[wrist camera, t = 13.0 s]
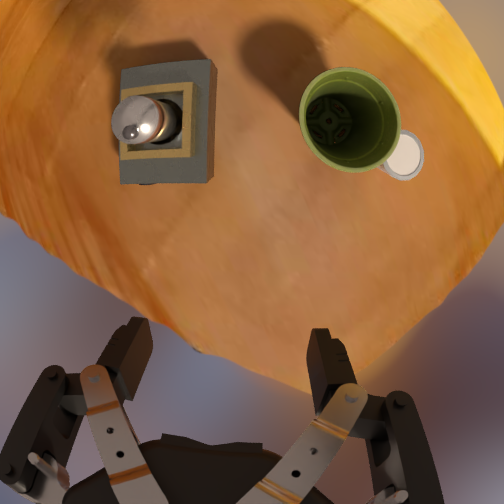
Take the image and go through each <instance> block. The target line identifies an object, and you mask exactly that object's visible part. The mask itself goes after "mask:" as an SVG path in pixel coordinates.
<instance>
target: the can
mask: <svg viewBox="0 0 504 504" xmlns="http://www.w3.org/2000/svg"><path fill="white" fill-rule="evenodd" d="M178 121H179V120H178V114H177V112H176V110H175V109H174V108H173V107H172V106H171V105H169V104H167V103H164V102H161V101H157V100H154V99H152V98H149V97H145V96H138V95H135V96H130V97H127V98H125V99H124V100H122V101H121V102H120V103H119V104H118V105H117V107H116V108H115V110H114V112H113V115H112V121H111V124H112V130H113V133H114V135H115V136H116V137H117V139H119V140H120V141H121V142H123V143H126V144H141V143H146V142H155V141H163V140H166V139H168V138H169V137H171V136H172V135H173V134H174V132H175V131H176V129H177V126H178Z"/></svg>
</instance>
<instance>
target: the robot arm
mask: <svg viewBox="0 0 504 504" xmlns="http://www.w3.org/2000/svg"><path fill="white" fill-rule="evenodd" d="M152 349H153V340H152V336H151V332H150V327H149V322H148V319H147V318H142V317H132V318H131V319H130V321H129V323H128V324H127V326H126V325H122V326H121V327H120V328H119V329H117V330H116V331H115V332H114V334H113V335H112V337H111V339H110V340H109V342H108V345H106V347H105V349H104V351H103V352H102V354H101V356H100V357H99V359H98V361H97V363H96V364H95V365H90V366H88V367H86V368H85V369H84V370H83V371H82V372H81V373H73V374H66V373H65V371H64V369H63V368H62V367H61V366H58V365H52V366H49V367H47V368H45V369H44V370H43V372H42V373H41V375H40V376H39V378H38V380H37V382H36V383H35V385H34V387H33V389H32V390H31V392H30V394H29V396H28V398H27V400H26V402H25V403H24V405H23V407H22V409H21V411H20V413H19V415H18V417H17V419H16V421H15V423H14V425H13V427H12V429H11V431H10V433H9V435H8V437H7V440H6V442H5V444H4V446H3V449H2V451H1V454H0V480H1V481H2V482H3V483H5V484H6V485H8V486H9V487H10V488H12V489H13V490H14V491H15V492H17V493H18V494H20V495H22V496H23V497H25V498H26V499H28V500H30V501H31V502H34V503H36V504H334V503H333V502H332V501H331V500H329V499H328V498H327V497H326V496H325V495H324V494H322V493H321V492H320V491H319V490H318V489H317V488H316V487H314V485H315V483H316V482H317V481H318V479H319V478H320V476H321V475H322V474H323V472H324V471H325V469H326V468H327V467H328V465H329V464H330V462H331V461H332V459H333V458H334V456H335V455H336V453H337V452H338V450H339V449H340V447H341V445H342V444H343V442H344V441H345V439H346V437H347V436H351V437H357V438H364V439H365V441H366V446H367V452H368V458H369V464H370V469H371V476H372V482H373V489H374V497H372V498H371V499H370V500H368V502H367V503H366V504H444V499H443V495H442V491H441V487H440V483H439V479H438V475H437V471H436V468H435V464H434V461H433V457H432V454H431V451H430V447H429V444H428V441H427V438H426V435H425V432H424V429H423V426H422V423H421V420H420V417H419V414H418V412H417V409H416V406H415V404H414V401H413V399H412V397H411V396H410V395H409V394H407V393H406V392H403V391H393V392H391V393H389V394H388V395H387V397H379V396H373V395H369V394H367V392H366V391H365V389H364V388H362V387H361V386H360V385H358V384H357V381H356V378H355V375H354V372H353V369H352V366H351V363H350V361H349V357H348V355H347V351H346V349H345V346H344V344H343V343H342V342H341V341H340V340H339V339H338V338H337V339H331V335H330V332H329V329H328V328H313V329H312V331H311V336H310V340H309V345H308V349H307V357H306V360H307V367H308V373H309V379H310V384H311V390H312V396H313V402H314V407H315V414H316V416H317V415H319V417H318V418H317V419H314V420H313V421H312V422H311V424H310V425H309V426H308V427H307V429H306V430H305V431H304V432H303V434H302V435H301V436H300V437H299V439H298V440H297V441H296V442H295V444H294V445H293V446H292V447H291V448H290V450H289V451H288V452H287V453H286V454H285V455H284V457H282V456H280V455H278V454H276V453H274V452H271V451H268V450H264V449H262V443H244V442H235V443H229V444H221V445H213V446H212V445H207V444H204V443H201V442H198V441H195V440H192V439H190V438H187V437H181V436H175V435H169V434H163V433H162V437H161V439H160V440H152V441H148V442H145V443H142V444H141V443H140V441H139V439H138V437H137V435H136V433H135V431H134V429H133V427H132V425H131V423H130V420H129V418H128V416H127V414H126V411H125V409H124V407H123V403H124V400H125V399H126V400H130V401H133V399H134V396H135V393H136V391H137V388H138V385H139V383H140V381H141V378H142V375H143V373H144V371H145V368H146V366H147V363H148V361H149V358H150V356H151V353H152ZM84 415H87V418H88V421H89V424H90V427H91V431H92V434H93V437H94V440H95V442H96V445H97V448H98V451H99V453H100V456H101V459H102V461H103V463H104V466H105V467H104V468H102V469H101V470H99V471H97V472H96V473H94V474H92V475H91V476H89V477H87V478H86V479H84V480H82V481H80V482H79V483H77V484H75V485H73V486H72V487H71V488H69V486H70V482H69V474H68V472H67V470H66V469H65V468H66V465H67V462H68V459H69V456H70V453H71V450H72V447H73V444H74V441H75V439H76V436H77V433H78V430H79V428H80V425H81V422H82V420H83V417H84Z"/></svg>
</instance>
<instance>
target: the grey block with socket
mask: <svg viewBox="0 0 504 504" xmlns="http://www.w3.org/2000/svg"><path fill="white" fill-rule="evenodd" d="M216 88H217V68H216V67H215V65H214V63H213V62H212V60H211V59H205V60H188V61H177V62H167V63H159V64H151V65H144V66H138V67H132V68H127V69H122V70H121V83H120V101H119V103H120V102H121V101H122V100H124V99H125V98H127V97H130V96H135V95H138V96H145V97H149V98H152V99H154V100H157V101H161V102H164V103H167V104H169V105H171V106H172V107H173V108H174V109H175V110H176V112H177V114H178V120H179V121H178V126H177V129H176V131H175V132H174V134H173V135H172V136H171V137H169V138H168V139H166V140H163V141H155V142H146V143H141V144H126V143H123V142H121V141H120V140H119V168H120V184H139V185H152V184H156V183H207V182H208V181H209V180H210V179H211V178H212V177H213V176H214V139H215V110H216Z"/></svg>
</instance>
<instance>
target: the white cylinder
mask: <svg viewBox="0 0 504 504" xmlns="http://www.w3.org/2000/svg"><path fill="white" fill-rule="evenodd" d="M423 162H424V150H423V147H422V145H421V142H420V141H419V139H418V138H417V137H416V136H415V134H413V133H411V132H409V131H407V130H401V133H400V138H399V141H398V144H397V146H396V148H395V150H394V152H393V153H392V155H391V156H390V157H389V158H388V159H387V160H386V161H385V162H384V163H383V164H381V165H380V166H378V167H377V168H379V169H380V170H382V171H384V172H385V173H387V174H389V175H390V176H392V177H394V178H396V179H398V180H409V179H411V178H413V177H415V176H416V175H417V174H418V173H419V171H420V170H421V168H422V165H423Z"/></svg>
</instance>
